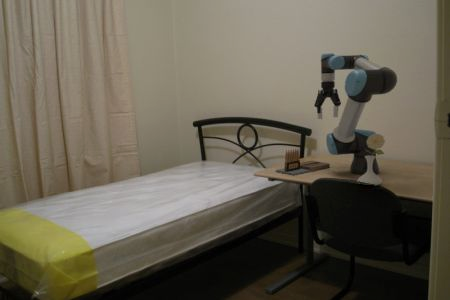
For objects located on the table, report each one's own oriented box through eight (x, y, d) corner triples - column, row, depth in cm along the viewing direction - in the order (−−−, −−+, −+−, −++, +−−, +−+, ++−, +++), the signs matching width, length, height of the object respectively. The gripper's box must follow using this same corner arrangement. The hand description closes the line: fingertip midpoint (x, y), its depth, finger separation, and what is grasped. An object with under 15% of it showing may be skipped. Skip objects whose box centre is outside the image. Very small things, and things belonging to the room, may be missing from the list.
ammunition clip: (298, 168, 242) (297, 147, 240) (300, 169, 240) (300, 148, 238) (284, 171, 236) (284, 150, 234) (286, 171, 234) (286, 150, 232)
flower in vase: (352, 185, 203) (353, 133, 200) (365, 180, 211) (365, 131, 207) (377, 189, 194) (378, 135, 190) (390, 184, 201) (391, 132, 197)
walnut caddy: (329, 167, 246) (329, 163, 245) (310, 171, 237) (310, 167, 236) (311, 164, 257) (311, 160, 257) (292, 168, 248) (292, 164, 247)
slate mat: (309, 172, 236) (309, 170, 236) (293, 175, 229) (293, 173, 229) (292, 168, 248) (292, 166, 247) (275, 171, 240) (275, 170, 240)
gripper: (337, 80, 252) (336, 116, 255) (307, 81, 237) (308, 119, 241) (347, 80, 246) (347, 116, 249) (317, 81, 231) (318, 120, 235)
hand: (327, 118), depth 245 cm, fingers open, 13 cm apart
